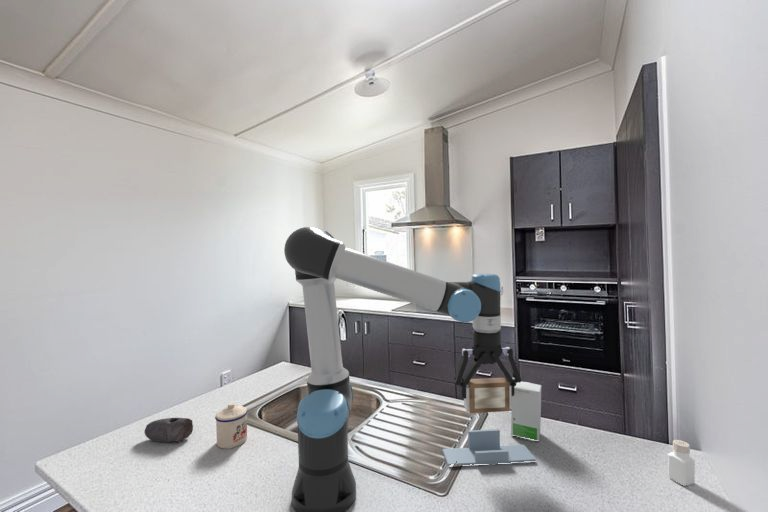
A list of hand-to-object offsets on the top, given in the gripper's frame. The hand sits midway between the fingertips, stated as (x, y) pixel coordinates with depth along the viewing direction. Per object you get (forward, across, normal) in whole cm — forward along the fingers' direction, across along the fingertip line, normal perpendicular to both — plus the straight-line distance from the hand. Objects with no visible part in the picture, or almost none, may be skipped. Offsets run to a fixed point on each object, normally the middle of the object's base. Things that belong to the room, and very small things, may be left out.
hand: (487, 408), depth 98 cm
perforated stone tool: (+14, -96, +18) cm, 99 cm away
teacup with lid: (+14, -75, +16) cm, 78 cm away
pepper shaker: (+14, +44, -14) cm, 48 cm away
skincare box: (+14, +16, +10) cm, 24 cm away
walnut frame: (0, 0, 0) cm, 0 cm away
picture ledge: (+14, 0, 0) cm, 14 cm away
